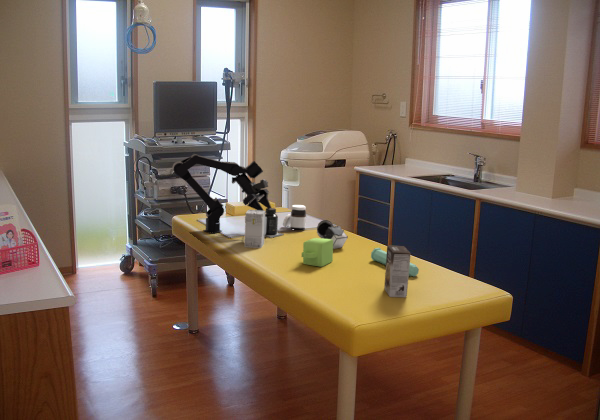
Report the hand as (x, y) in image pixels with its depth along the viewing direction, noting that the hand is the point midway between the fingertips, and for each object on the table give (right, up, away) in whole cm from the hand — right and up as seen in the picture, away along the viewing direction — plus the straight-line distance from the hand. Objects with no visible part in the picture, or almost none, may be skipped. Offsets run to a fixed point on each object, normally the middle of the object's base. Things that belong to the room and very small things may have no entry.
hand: (267, 210), depth 293 cm
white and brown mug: (+13, -9, +17) cm, 23 cm away
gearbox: (+22, -21, -40) cm, 50 cm away
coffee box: (+49, -29, -74) cm, 93 cm away
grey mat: (+1, -11, +2) cm, 12 cm away
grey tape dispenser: (+29, -15, -9) cm, 34 cm away
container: (+53, -23, -43) cm, 73 cm away
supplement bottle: (+1, -11, +2) cm, 11 cm away
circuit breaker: (-4, -15, -15) cm, 22 cm away
